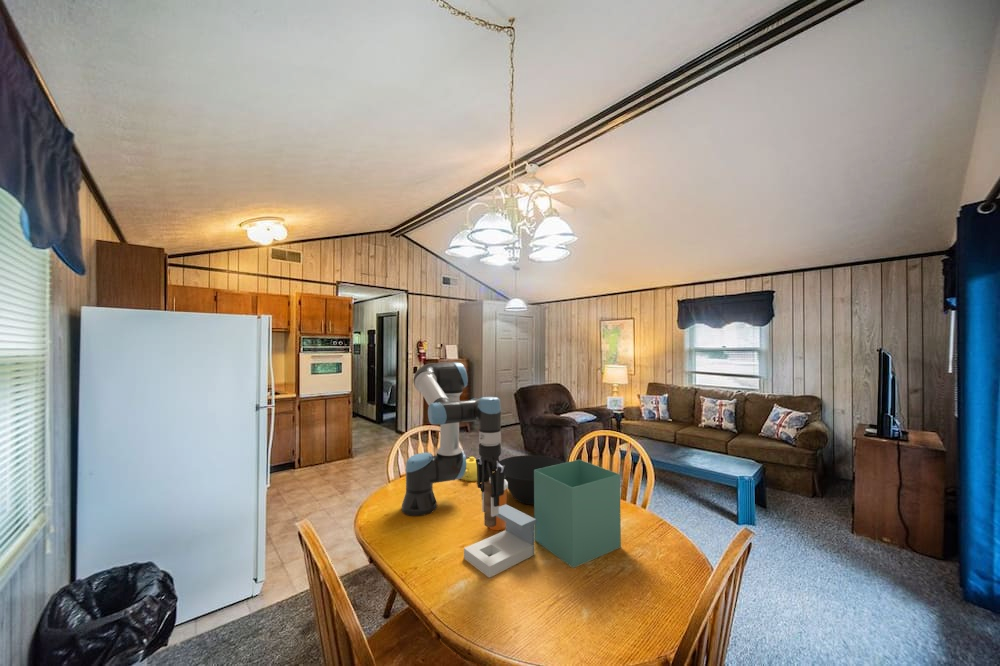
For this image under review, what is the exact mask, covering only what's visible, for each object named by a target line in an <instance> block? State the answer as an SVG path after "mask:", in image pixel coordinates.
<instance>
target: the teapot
mask: <svg viewBox="0 0 1000 666" xmlns="http://www.w3.org/2000/svg"><path fill="white" fill-rule="evenodd" d="M476 459H477V458H475V457H474V456H469V458H466V471H465V474H464V476H463V477H462V478H460V479H461V480H462V481H464V480H465V482H477V464H476Z"/></svg>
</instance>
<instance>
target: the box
mask: <svg viewBox="0 0 1000 666" xmlns="http://www.w3.org/2000/svg"><path fill="white" fill-rule="evenodd" d="M533 505H534V506H533V510H534V511H533V513H534V515H533V518H535V519H536V524H534V542H537V544H539V545H540V546H542V547H543V548H545V549H546V550H547V551H549V552H550V553H552V554H553V555H554V556H556V557H557V558H559V560H561V561H563V562H564V563H565V564H566V565H568V566H569V567H571V568H573V569H574V568H576V567H579V566H581V565H583V564H586V563H588V562H590V561H592V560H593V561H594V560H595V559H597V558H600V557H601V556H604V555H607V554H608V553H611V552H613V551H616V550H618V549H620V548H622V537H621V535H622V534H621V533H622V531H621V530H622V529H621V528H622V527H621V526H622V525H621V520H622V519H621V474H620V473H618V472H615V471H611V470H610V469H606V468H603V467H601V466H598V465H596V464H593V463H590V462H587V461H585V460H582V459H577V460H576V459H575V460H572V461H567V462H565V463H562V464H558V465H553V466H549V467H545V468H540V469H536V470H534V504H533Z"/></svg>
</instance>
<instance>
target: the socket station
mask: <svg viewBox="0 0 1000 666" xmlns="http://www.w3.org/2000/svg"><path fill="white" fill-rule="evenodd" d="M496 516H497V517H499V518H500V519H502V520H504V521H506V527H505V530H503V531H500V532H498V533H496V534H494V535H491V536H489V537H486V538H484V539H482V540H480V541H479V540H478V541H477V542H475V543H473V544H471V545H470V544H469V545H467V546H465V547H463V559H464V560H465V561H466V562H468V563H470V565H472V566H473V567H475V569H477V570H478V571H480V572H481V573H483V575H485V576H486V577H488V579H490V578H492V577H494V576H495V575H498V574H500V573H502V572H504V571H505V570H507V569H509V568H512V567H513V566H515V565H517V564H520V563H522V561H526V559H528V558H531V557H533V556H534V555H535V540H534V524H536V519H535V518H534V516H530V515H528V514H527V513H525V512H523V511H520V510H518V509H517V508H515V507H512V506H510V505H508V503H507V504H505V505H502V506H500V507H499V515H496Z"/></svg>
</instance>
